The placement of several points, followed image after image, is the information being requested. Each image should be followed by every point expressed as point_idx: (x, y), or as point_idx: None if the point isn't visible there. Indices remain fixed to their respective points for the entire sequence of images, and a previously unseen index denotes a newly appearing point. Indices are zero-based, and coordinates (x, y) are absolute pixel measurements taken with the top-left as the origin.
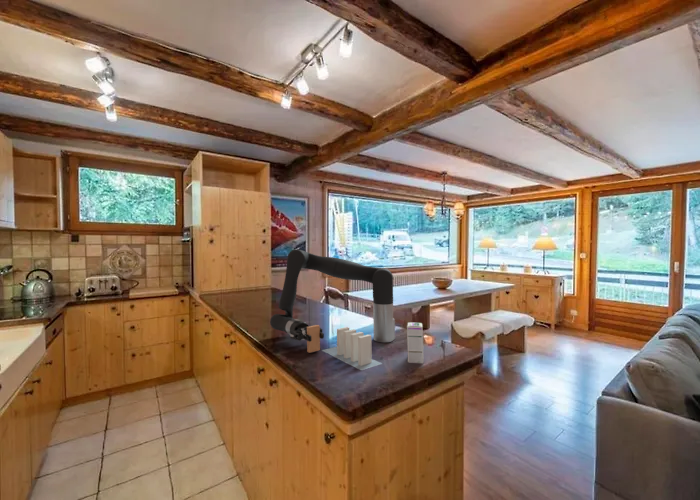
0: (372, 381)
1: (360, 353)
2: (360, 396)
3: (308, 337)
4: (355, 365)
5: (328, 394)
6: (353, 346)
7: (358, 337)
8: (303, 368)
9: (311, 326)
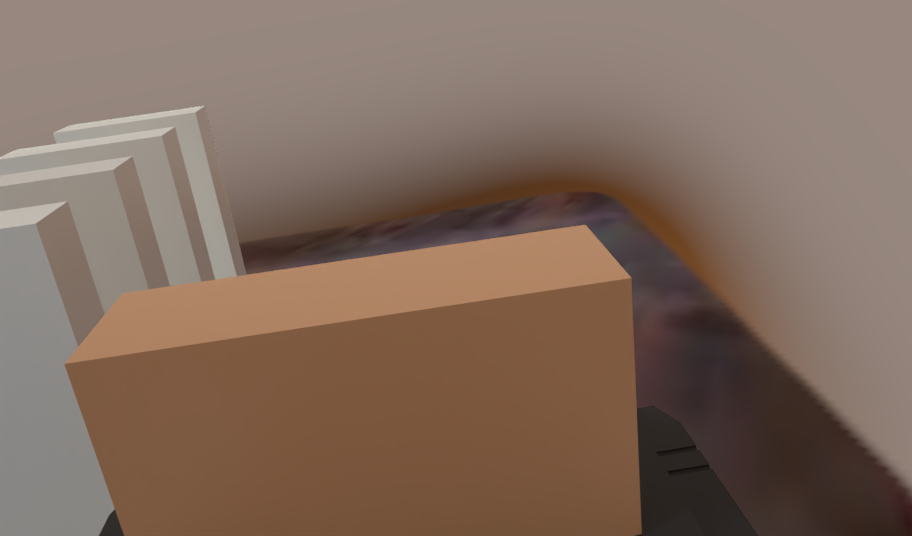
0: None
1: (239, 247)
2: (505, 216)
3: (639, 420)
4: None
5: (645, 232)
6: (204, 250)
7: (197, 115)
8: (787, 490)
9: (430, 281)
